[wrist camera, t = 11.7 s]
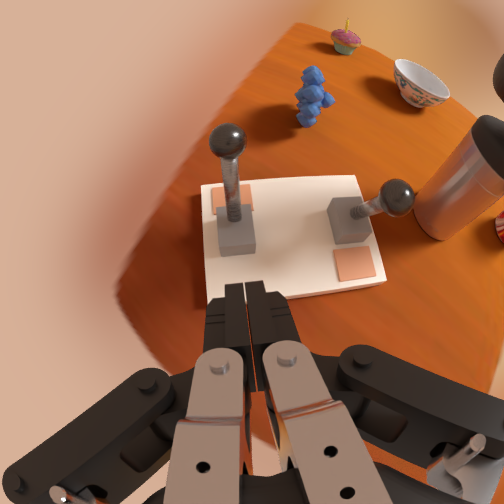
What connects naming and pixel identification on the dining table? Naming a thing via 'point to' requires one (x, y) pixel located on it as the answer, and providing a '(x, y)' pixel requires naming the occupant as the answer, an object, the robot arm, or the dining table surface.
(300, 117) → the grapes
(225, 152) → the lever
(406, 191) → the lever
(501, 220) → the soda can
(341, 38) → the cupcake
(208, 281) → the console
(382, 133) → the dining table surface
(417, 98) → the chinaware
